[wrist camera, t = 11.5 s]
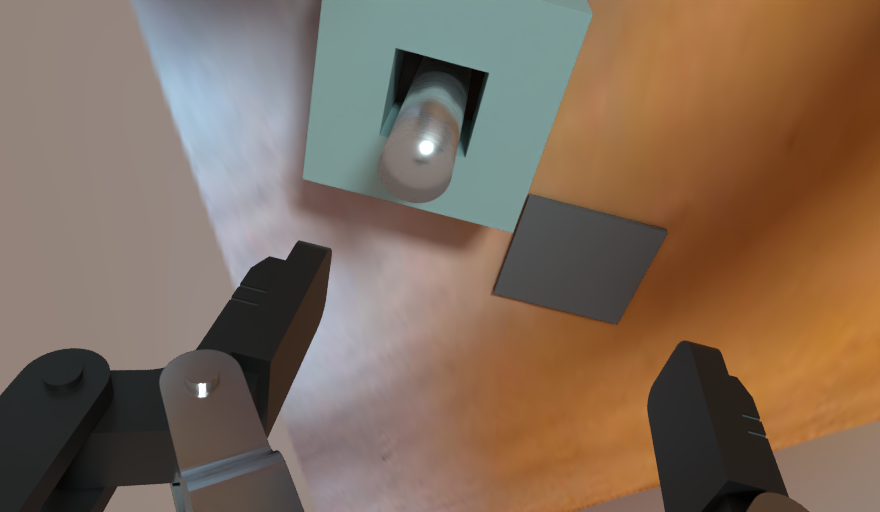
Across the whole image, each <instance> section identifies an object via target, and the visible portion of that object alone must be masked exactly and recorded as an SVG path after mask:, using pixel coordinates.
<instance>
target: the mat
mask: <svg viewBox="0 0 880 512" xmlns="http://www.w3.org/2000/svg"><path fill="white" fill-rule="evenodd" d="M666 235H667V230H666V229H663V228H659V227H655V226H651V225H647V224H643V223H640V222H636V221H632V220H628V219H624V218H620V217H616V216H613V215H609V214H605V213H601V212H597V211H593V210H589V209H586V208H582V207H578V206H574V205H570V204H566V203H563V202H559V201H555V200H551V199H547V198H543V197H539V196H536V195H532V194H529V196H528V198H527V201H526V204H525V207H524V209H523V212H522V215H521V218H520V220H519V223H518V226H517V228H516V231H515V234H514V237H513V239H512V242H511V245H510V247H509V250H508V253H507V256H506V258H505V261H504V264H503V267H502V269H501V272H500V275H499V277H498V280H497V283H496V286H495V288H494V294H497V295H501V296H505V297H509V298H513V299H517V300H521V301H525V302H529V303H533V304H537V305H541V306H545V307H549V308H553V309H557V310H561V311H565V312H569V313H573V314H577V315H581V316H585V317H588V318H592V319H596V320H600V321H604V322H608V323H612V324H616V325H617V324H618V322H619V321H620V319H621V317H622V315H623V313H624V312H625V310H626V308H627V306H628V304H629V302H630V301H631V299H632V297H633V295H634V293H635V291H636V290H637V288H638V286H639V284H640V282H641V280H642V279H643V277H644V275H645V273H646V271H647V269H648V268H649V266H650V264H651V262H652V260H653V259H654V257H655V255H656V253H657V251H658V249H659V248H660V246H661V244H662V242H663V240H664V238H665V237H666Z"/></svg>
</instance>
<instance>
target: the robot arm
mask: <svg viewBox="0 0 880 512" xmlns="http://www.w3.org/2000/svg"><path fill="white" fill-rule="evenodd" d="M331 256H332V250H331V248H327V247H323V246H319V245H315V244H311V243H308V242H304V241H298V242H297V243H296V244H295V246H294V248H293V249H292V251H291V253H290V254H289V256H288V258H287V259H286V260H282V259H278V258H274V257H270V256H269V257H268V258H266V259H264V260H263V261H261V262H260V263H258V264H256V265H255V266H253V267H252V268H251V269H250V270H249V272H248V273H247V274H246V276H245V277H244V279H243V280H242V282H241V283H240V287H238V288H237V289H236V291H235V292H234V294H233V295H232V298H231V300H229V302H228V303H227V304H226V306H225V307H224V309H223V311H222V312H221V313H220V315H219V316H218V318H217V319H216V321H215V323H214V324H213V325H212V327H211V328H210V330H209V331H208V333H207V335H206V336H205V337H204V339H203V340H202V342H201V343H200V345H199V346H198V347H197V349H196V350H195V351H190V352H187V353H184V354H182V355H180V356H178V357H176V358H175V359H173V360H172V361H171V362H170V363H169V364H168V365H167V366H166V367H165V368H161V369H154V370H118V371H117V370H113V371H112V370H111V371H110V368H109V365H108V363H107V361H106V360H105V359H104V358H103V357H102V356H100V355H99V354H97V353H95V352H93V351H90V350H85V349H76V348H73V349H72V348H71V349H62V350H57V351H54V352H51V353H47V354H45V355H43V356H41V357H39V358H37V359H36V360H34V361H32V362H31V363H29V364H28V365H27V366H26V367H25V368H24V369H23V370H22V371H21V372H20V374H18V376H17V377H16V378H15V379H14V380H13V381H12V383H11V384H10V385H9V386H8V387H7V388H6V390H5V391H4V392H3V393H2V394H1V395H0V512H103V511H104V509H105V507H106V506H107V504H108V502H109V500H110V498H111V497H112V495H113V493H114V492H115V490H116V488H117V486H131V485H147V484H163V483H170V486H171V490H172V495H173V499H174V504H175V508H176V512H304V509H303V507H302V504H301V501H300V499H299V496H298V493H297V491H296V488H295V486H294V483H293V481H292V478H291V475H290V473H289V470H288V467H287V465H286V462H285V460H284V458H283V456H282V454H281V453H280V452H279V451H272V449H271V447H270V445H269V443H268V440H267V438H268V436H269V434H270V432H271V429H272V427H273V425H274V423H275V421H276V418H277V416H278V414H279V412H280V410H281V407H282V405H283V403H284V401H285V399H286V396H287V394H288V392H289V390H290V388H291V385H292V383H293V381H294V379H295V377H296V374H297V372H298V370H299V368H300V366H301V364H302V361H303V359H304V357H305V355H306V353H307V350H308V348H309V346H310V344H311V342H312V339H313V337H314V335H315V333H316V331H317V328H318V326H319V324H320V321H321V318H322V314H323V311H324V307H325V302H326V295H327V287H328V280H329V272H330V264H331ZM647 411H648V417H649V423H650V428H651V434H652V440H653V446H654V451H655V457H656V463H657V468H658V474H659V480H660V485H661V491H662V496H663V502H664V508H665V512H809V511H808V510H807V509H805V508H804V507H803V506H802V505H800V504H799V503H797V502H796V501H794V500H792V499H791V498H789V496H788V493H787V490H786V488H785V485H784V482H783V480H782V477H781V474H780V471H779V469H778V466H777V463H776V460H775V458H774V455H773V452H772V449H771V447H770V444H769V441H768V439H767V438H765V436H766V433H765V430H764V427H763V425H762V422H760V421H759V419H760V416H759V414H758V411H757V408H756V406H755V403H754V400H753V397H752V396H751V395H750V394H749V392H748V391H747V390H746V388H745V387H744V386H743V385H742V383H741V382H740V381H739V379H738V378H737V377H734V376H730V375H729V374H728V371H727V368H726V365H725V362H724V359H723V356H722V354H721V352H720V350H718V349H716V348H712V347H709V346H705V345H701V344H697V343H693V342H689V341H681V342H680V343H679V344H678V345H677V347H676V348H675V350H674V351H673V353H672V355H671V356H670V358H669V359H668V361H667V363H666V364H665V366H664V367H663V369H662V371H661V372H660V374H659V375H658V377H657V379H656V380H655V382H654V383H653V385H652V387H651V390H650V393H649V397H648V405H647Z"/></svg>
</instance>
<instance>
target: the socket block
mask: <svg viewBox="0 0 880 512" xmlns="http://www.w3.org/2000/svg"><path fill="white" fill-rule="evenodd" d="M592 15H593V14H592V11H591V9H590V6H589V4H588V1H587V0H322V4H321V13H320V22H319V32H318V41H317V50H316V59H315V68H314V77H313V86H312V95H311V105H310V114H309V123H308V132H307V141H306V150H305V159H304V168H303V177H302V179H305V180H308V181H312V182H316V183H320V184H324V185H328V186H332V187H336V188H340V189H344V190H347V191H351V192H355V193H359V194H363V195H367V196H371V197H375V198H379V199H382V200H386V201H390V202H394V203H398V204H402V205H406V206H410V207H414V208H418V209H421V210H425V211H429V212H433V213H437V214H441V215H445V216H449V217H453V218H457V219H460V220H464V221H468V222H472V223H476V224H480V225H484V226H488V227H492V228H496V229H499V230H503V231H507V232H511V233H513V232H514V229H515V226H516V224H517V221H518V218H519V215H520V213H521V210H522V207H523V204H524V202H525V199H526V196H527V193H528V191H529V188H530V185H531V182H532V180H533V177H534V174H535V172H536V169H537V166H538V163H539V161H540V158H541V155H542V152H543V150H544V147H545V144H546V141H547V139H548V136H549V133H550V130H551V128H552V125H553V122H554V120H555V117H556V114H557V111H558V109H559V106H560V103H561V100H562V98H563V95H564V92H565V89H566V87H567V84H568V81H569V78H570V76H571V73H572V70H573V68H574V65H575V62H576V59H577V57H578V54H579V51H580V48H581V46H582V43H583V40H584V37H585V35H586V32H587V29H588V26H589V24H590V21H591V18H592ZM405 51H409V52H413V53H417V54H420V55H424V56H428V57H432V58H435V59H439V60H443V61H446V62H450V63H454V64H458V65H461V66H465V67H469V68H473V69H476V70H480V71H484V72H485V75H484V78H483V82H482V85H481V89H480V93H479V96H478V100H477V103H476V107H475V110H474V114H473V118H472V121H471V120H468V119H464V118H463V123H462V128H461V133H460V138H459V143H458V148H457V153H456V158H455V163H454V168H453V173H452V178H451V182H450V184H449V186H448V188H447V190H446V191H445V192H444V193H443V194H442V195H441V196H440V197H438V198H437V199H435V200H433V201H430V202H426V203H410V202H406V201H403V200H401V199H399V198H397V197H395V196H394V195H392V194H391V193H390V192H389V191H388V190H387V189H386V188H385V186H384V185H383V183H382V181H381V179H380V176H379V171H378V163H379V158H380V156H381V153H382V151H383V149H384V146H385V144H386V142H387V140H388V137H389V135H390V133H391V130H392V128H393V126H394V123H395V121H396V119H397V116H398V114H399V112H400V110H401V107H402V105H403V102H399V101H396V95H397V90H398V85H399V80H400V75H401V69H402V64H403V59H404V54H405Z"/></svg>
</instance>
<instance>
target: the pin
mask: <svg viewBox="0 0 880 512" xmlns="http://www.w3.org/2000/svg"><path fill="white" fill-rule="evenodd" d="M471 78H472V69H471V68H469V67H465V66H461V65H458V64H454V63H450V62H446V61H443V60H439V59H435V58H432V57H428V56H424V58H423V59H422V61H421V63H420V66H419V68H418V70H417V73H416V75H415V77H414V79H413V82H412V84H411V86H410V89H409V91H408V93H407V96H406V98H405V100H404V103H403V105H402V107H401V110H400V112H399V114H398V116H397V119H396V121H395V123H394V126H393V128H392V130H391V133H390V135H389V137H388V140H387V142H386V144H385V146H384V149H383V151H382V153H381V156H380V158H379V163H378V171H379V176H380V179H381V181H382V183H383V185H384V186H385V188H386V189H387V190H388V191H389V192H390V193H391V194H392V195H394V196H395V197H397V198H399V199H401V200H403V201H406V202H410V203H426V202H430V201H433V200H435V199H437V198H438V197H440V196H441V195H442V194H443V193H444V192H445V191H446V190H447V188H448V186H449V184H450V182H451V178H452V173H453V168H454V163H455V158H456V153H457V148H458V143H459V138H460V133H461V128H462V123H463V118H464V113H465V108H466V103H467V98H468V93H469V88H470V83H471Z"/></svg>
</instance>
